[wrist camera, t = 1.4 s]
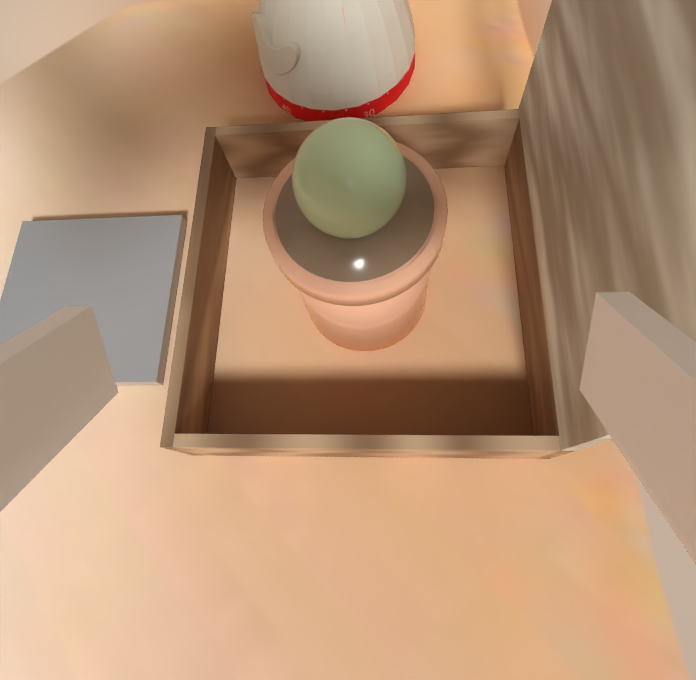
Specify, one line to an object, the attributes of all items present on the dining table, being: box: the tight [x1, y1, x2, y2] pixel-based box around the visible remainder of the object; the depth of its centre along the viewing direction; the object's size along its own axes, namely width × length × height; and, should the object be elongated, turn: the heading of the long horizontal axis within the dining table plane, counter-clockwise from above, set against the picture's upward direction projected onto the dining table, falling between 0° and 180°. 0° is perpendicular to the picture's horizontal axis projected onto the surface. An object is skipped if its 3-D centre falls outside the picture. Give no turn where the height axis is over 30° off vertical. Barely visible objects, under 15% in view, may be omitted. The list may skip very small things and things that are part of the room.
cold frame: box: [160, 0, 696, 459], centre depth 24 cm, size 24×24×25 cm
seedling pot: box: [263, 117, 448, 351], centre depth 28 cm, size 10×10×16 cm
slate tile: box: [0, 215, 187, 385], centre depth 38 cm, size 14×14×1 cm
